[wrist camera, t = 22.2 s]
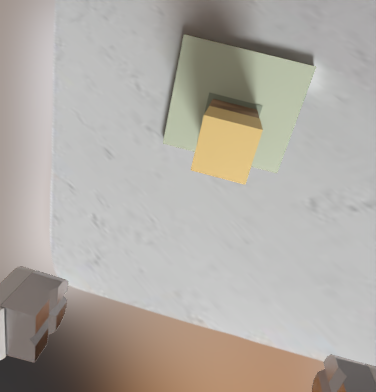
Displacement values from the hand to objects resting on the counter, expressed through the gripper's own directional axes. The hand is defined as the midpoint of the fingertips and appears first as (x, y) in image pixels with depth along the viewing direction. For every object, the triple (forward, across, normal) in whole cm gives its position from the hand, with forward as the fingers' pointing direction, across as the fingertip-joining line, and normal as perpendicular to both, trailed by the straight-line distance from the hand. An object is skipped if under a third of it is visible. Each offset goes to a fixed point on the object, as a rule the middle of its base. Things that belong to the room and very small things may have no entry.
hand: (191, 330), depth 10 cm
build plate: (+31, 0, -2) cm, 31 cm away
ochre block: (+25, 0, 0) cm, 25 cm away
